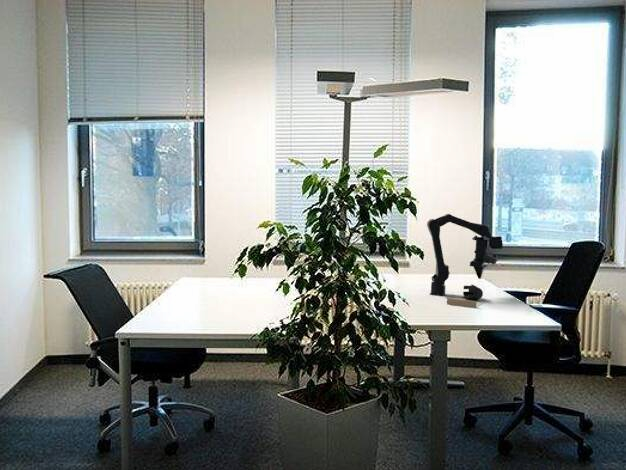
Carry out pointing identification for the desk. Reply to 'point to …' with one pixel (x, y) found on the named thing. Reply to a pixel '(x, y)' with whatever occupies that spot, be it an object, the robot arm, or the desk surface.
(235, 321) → the desk surface
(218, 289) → the desk surface
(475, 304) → the mat
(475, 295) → the end cap
